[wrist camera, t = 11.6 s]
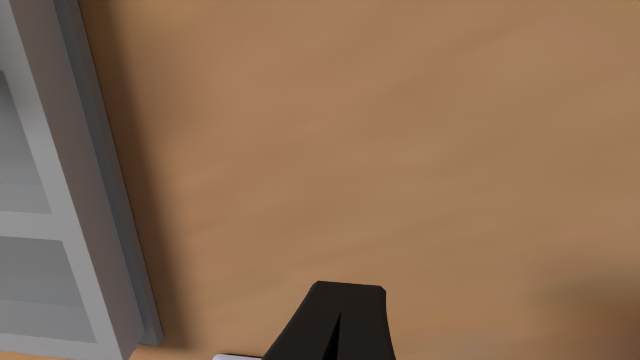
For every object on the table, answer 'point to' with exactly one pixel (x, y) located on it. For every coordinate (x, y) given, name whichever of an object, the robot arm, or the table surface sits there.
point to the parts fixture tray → (63, 199)
